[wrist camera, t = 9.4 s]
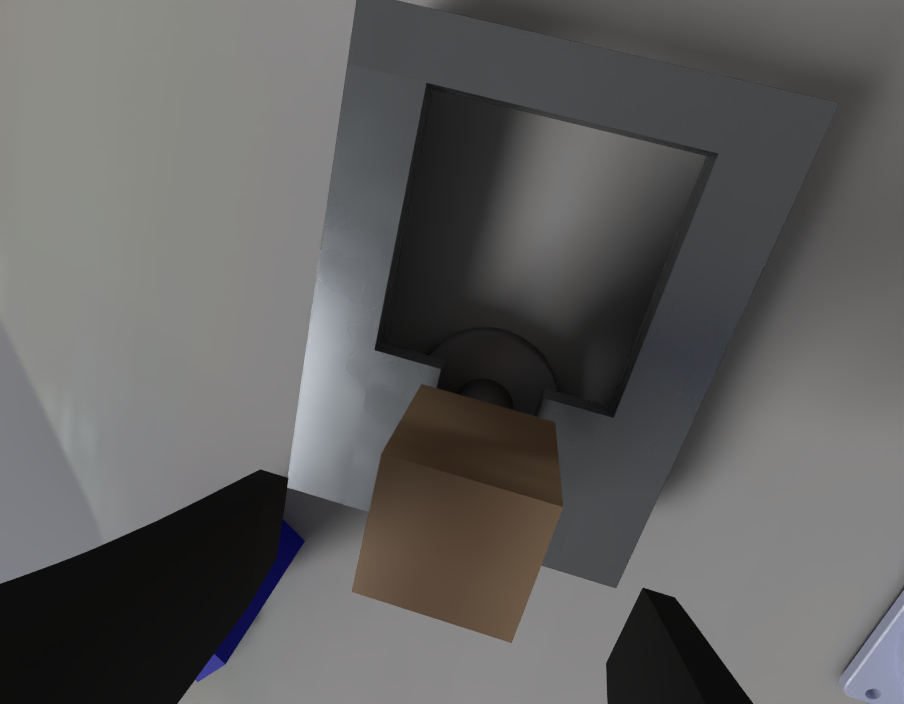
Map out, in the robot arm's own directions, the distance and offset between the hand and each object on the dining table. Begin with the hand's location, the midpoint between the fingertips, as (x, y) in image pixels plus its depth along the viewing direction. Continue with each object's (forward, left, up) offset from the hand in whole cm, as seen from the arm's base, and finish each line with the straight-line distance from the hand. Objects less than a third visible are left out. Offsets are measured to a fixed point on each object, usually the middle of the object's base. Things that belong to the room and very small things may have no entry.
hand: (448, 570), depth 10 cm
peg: (0, 0, -9) cm, 9 cm away
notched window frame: (0, -4, -9) cm, 9 cm away
